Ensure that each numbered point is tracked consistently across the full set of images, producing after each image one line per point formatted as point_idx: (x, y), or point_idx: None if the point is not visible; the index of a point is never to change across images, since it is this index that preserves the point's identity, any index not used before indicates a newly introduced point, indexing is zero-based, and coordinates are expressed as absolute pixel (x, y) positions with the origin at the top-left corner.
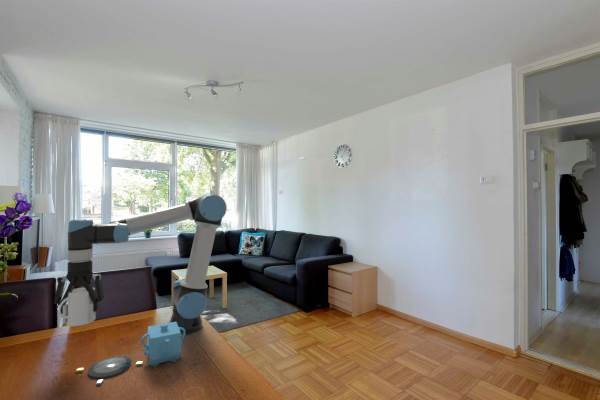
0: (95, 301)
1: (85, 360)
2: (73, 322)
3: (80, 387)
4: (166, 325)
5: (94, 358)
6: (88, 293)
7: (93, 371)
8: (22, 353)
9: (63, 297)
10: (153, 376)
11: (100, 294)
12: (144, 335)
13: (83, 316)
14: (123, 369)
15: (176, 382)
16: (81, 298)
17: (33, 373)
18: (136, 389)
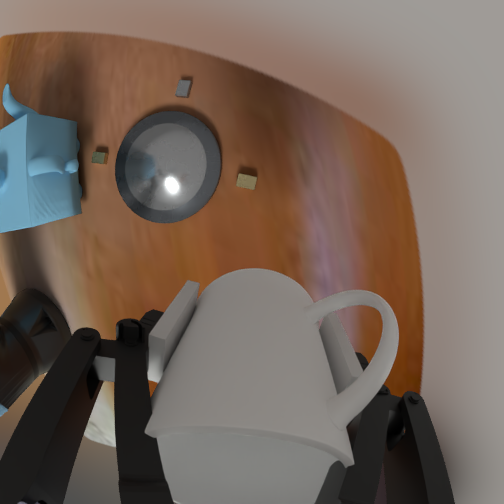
0: (122, 340)
1: (244, 251)
2: (282, 284)
3: (229, 88)
4: None
5: (220, 253)
6: (150, 416)
7: (204, 144)
8: (397, 361)
9: (381, 427)
10: (80, 92)
11: (59, 361)
12: (39, 161)
13: (226, 293)
14: (131, 130)
15: (55, 64)
16: (218, 376)
17: (367, 233)
18: (113, 49)
